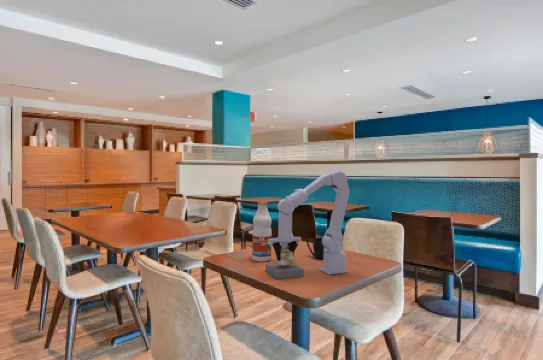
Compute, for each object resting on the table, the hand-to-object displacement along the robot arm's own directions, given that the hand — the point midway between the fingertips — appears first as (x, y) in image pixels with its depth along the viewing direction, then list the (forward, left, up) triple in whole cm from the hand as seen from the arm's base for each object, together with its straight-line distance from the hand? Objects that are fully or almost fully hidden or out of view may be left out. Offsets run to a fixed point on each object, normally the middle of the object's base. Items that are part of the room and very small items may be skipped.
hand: (284, 259), depth 139 cm
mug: (-27, -18, -6) cm, 33 cm away
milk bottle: (-8, -16, -6) cm, 19 cm away
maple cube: (0, 0, -1) cm, 1 cm away
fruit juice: (+1, -24, -6) cm, 25 cm away
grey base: (0, 0, -6) cm, 6 cm away
